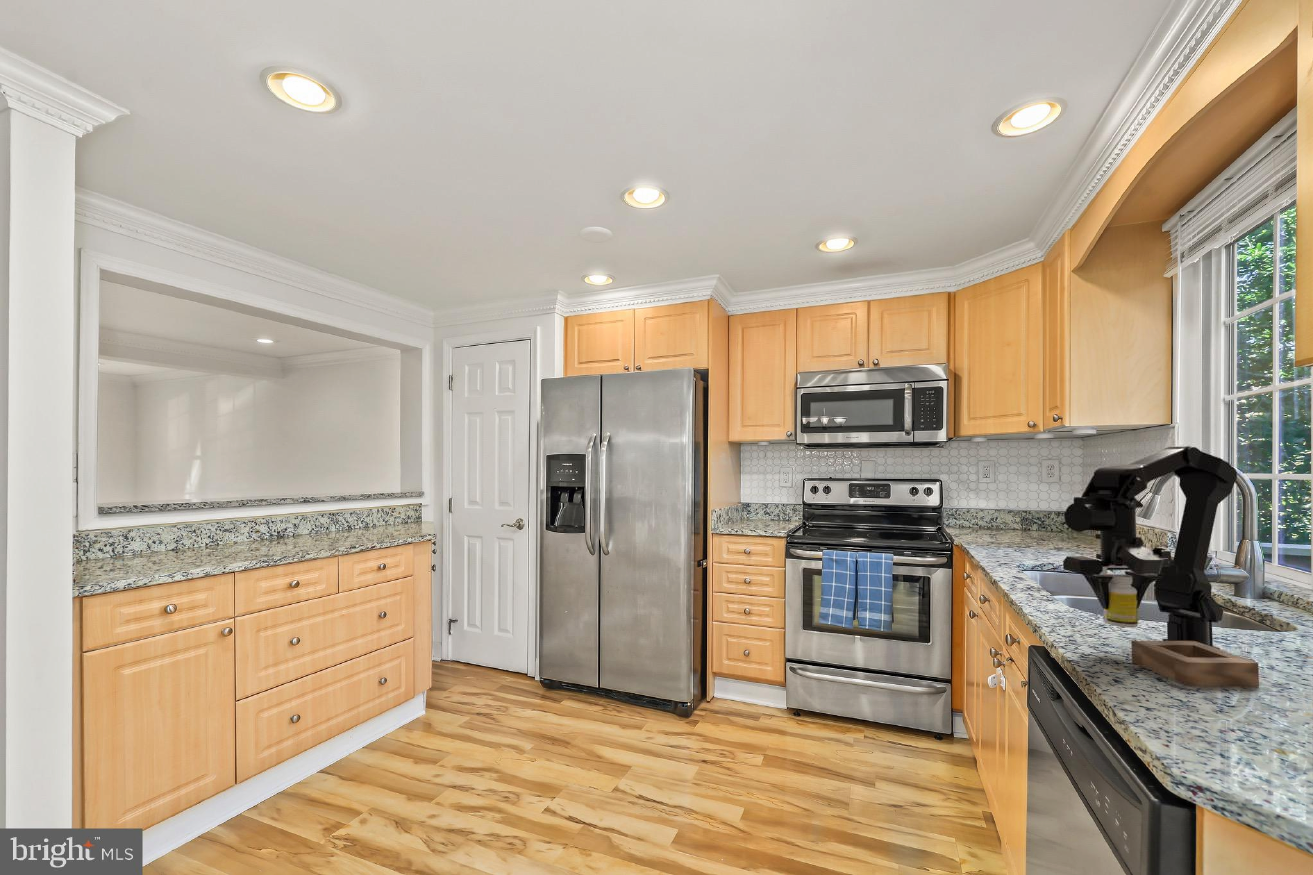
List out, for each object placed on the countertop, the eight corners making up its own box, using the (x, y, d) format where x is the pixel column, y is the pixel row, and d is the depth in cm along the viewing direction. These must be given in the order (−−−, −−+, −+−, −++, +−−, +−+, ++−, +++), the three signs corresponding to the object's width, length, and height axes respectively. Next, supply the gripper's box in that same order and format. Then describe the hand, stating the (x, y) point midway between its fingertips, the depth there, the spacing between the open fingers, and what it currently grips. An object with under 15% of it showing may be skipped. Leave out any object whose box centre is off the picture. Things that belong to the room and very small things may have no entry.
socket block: (1195, 662, 112) (1194, 640, 112) (1259, 686, 100) (1258, 662, 100) (1132, 661, 112) (1131, 640, 112) (1187, 686, 100) (1187, 662, 100)
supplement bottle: (1144, 629, 113) (1142, 578, 114) (1112, 627, 115) (1111, 577, 115) (1128, 621, 119) (1126, 572, 119) (1097, 619, 120) (1096, 571, 120)
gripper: (1100, 535, 109) (1102, 619, 109) (1201, 535, 109) (1204, 620, 109) (1060, 528, 121) (1062, 604, 120) (1152, 528, 120) (1154, 605, 120)
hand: (1120, 608), depth 117 cm, fingers closed on supplement bottle, 5 cm apart
